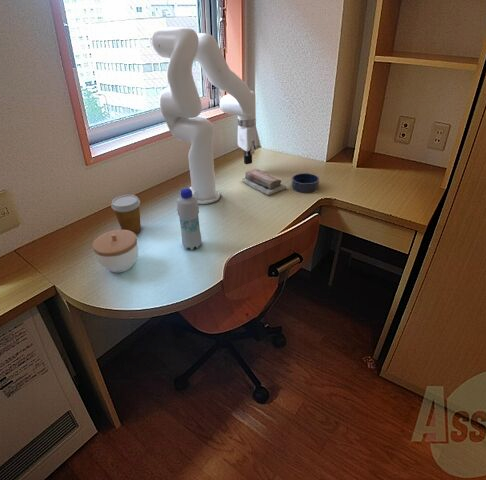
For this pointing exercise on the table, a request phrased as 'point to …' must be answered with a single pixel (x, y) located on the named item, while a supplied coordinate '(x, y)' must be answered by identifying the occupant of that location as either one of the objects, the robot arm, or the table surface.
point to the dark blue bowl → (305, 182)
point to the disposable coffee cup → (127, 212)
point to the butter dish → (263, 181)
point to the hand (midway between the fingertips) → (248, 163)
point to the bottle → (189, 219)
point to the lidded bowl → (116, 250)
